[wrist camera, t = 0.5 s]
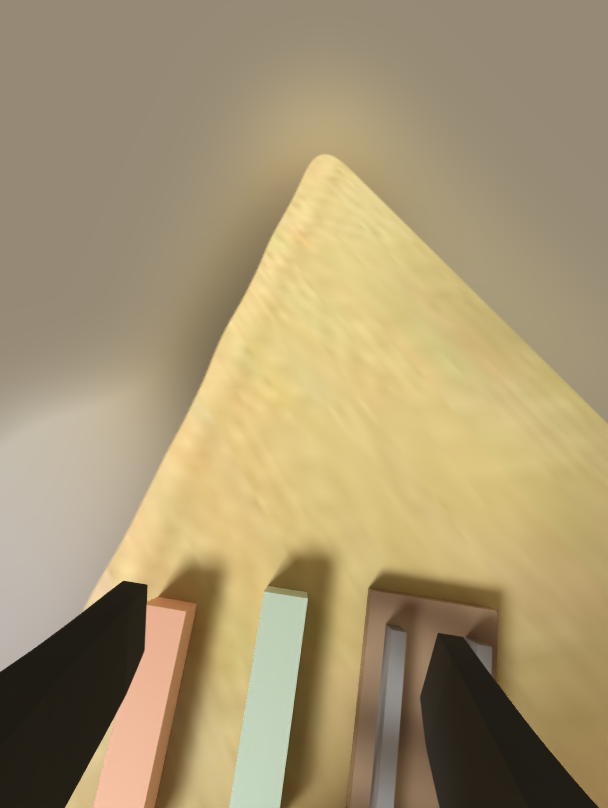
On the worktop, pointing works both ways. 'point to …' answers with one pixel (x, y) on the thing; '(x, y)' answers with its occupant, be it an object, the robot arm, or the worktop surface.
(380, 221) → the worktop surface
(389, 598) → the cradle
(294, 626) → the block
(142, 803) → the bar
